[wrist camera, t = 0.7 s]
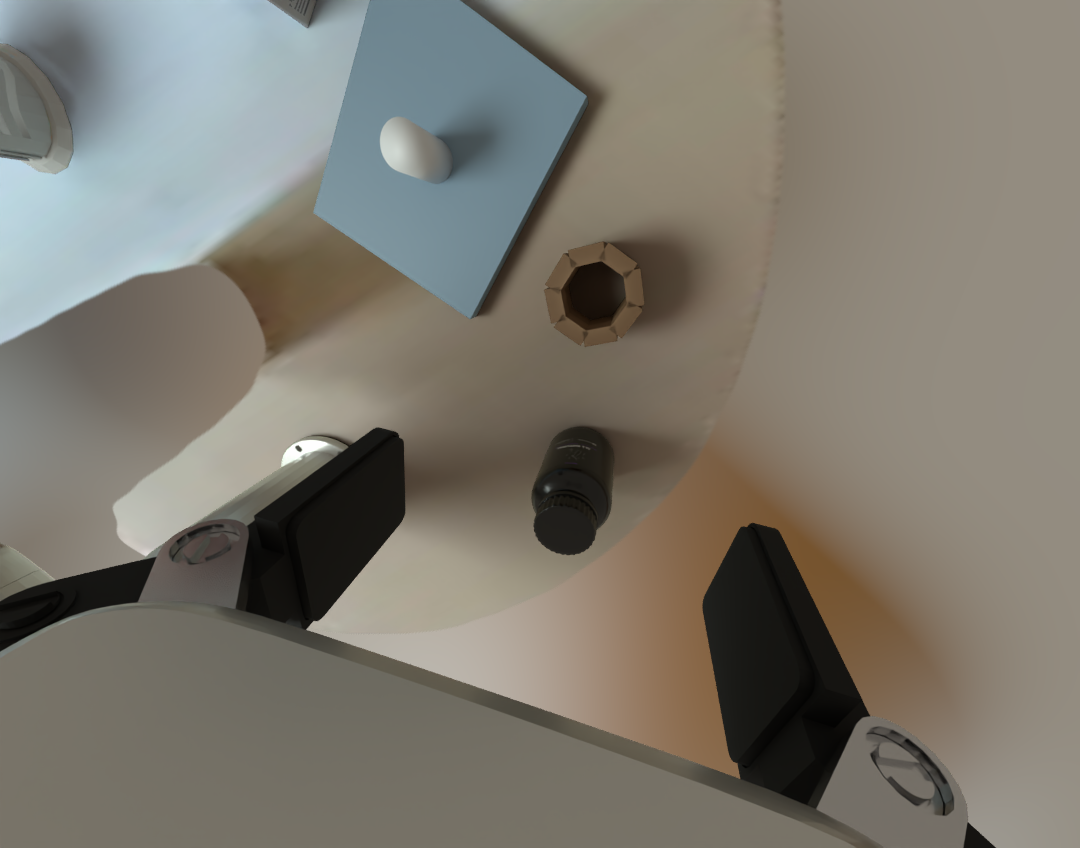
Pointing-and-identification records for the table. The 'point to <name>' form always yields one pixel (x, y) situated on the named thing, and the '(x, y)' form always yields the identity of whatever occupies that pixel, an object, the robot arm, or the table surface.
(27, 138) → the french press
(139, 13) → the table surface
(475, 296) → the post board
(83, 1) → the table surface
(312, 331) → the table surface
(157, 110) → the table surface
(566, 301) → the walnut ring
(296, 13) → the juice carton
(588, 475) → the supplement bottle
